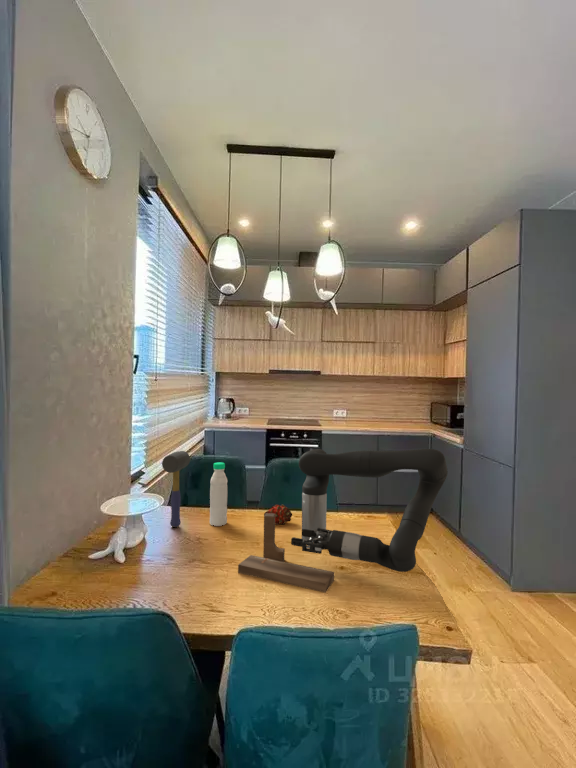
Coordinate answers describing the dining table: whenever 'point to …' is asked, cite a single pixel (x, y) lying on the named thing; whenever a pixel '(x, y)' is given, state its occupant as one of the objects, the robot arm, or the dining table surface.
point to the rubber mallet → (175, 481)
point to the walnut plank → (287, 573)
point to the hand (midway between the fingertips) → (296, 536)
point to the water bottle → (218, 495)
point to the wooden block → (271, 539)
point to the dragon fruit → (280, 514)
